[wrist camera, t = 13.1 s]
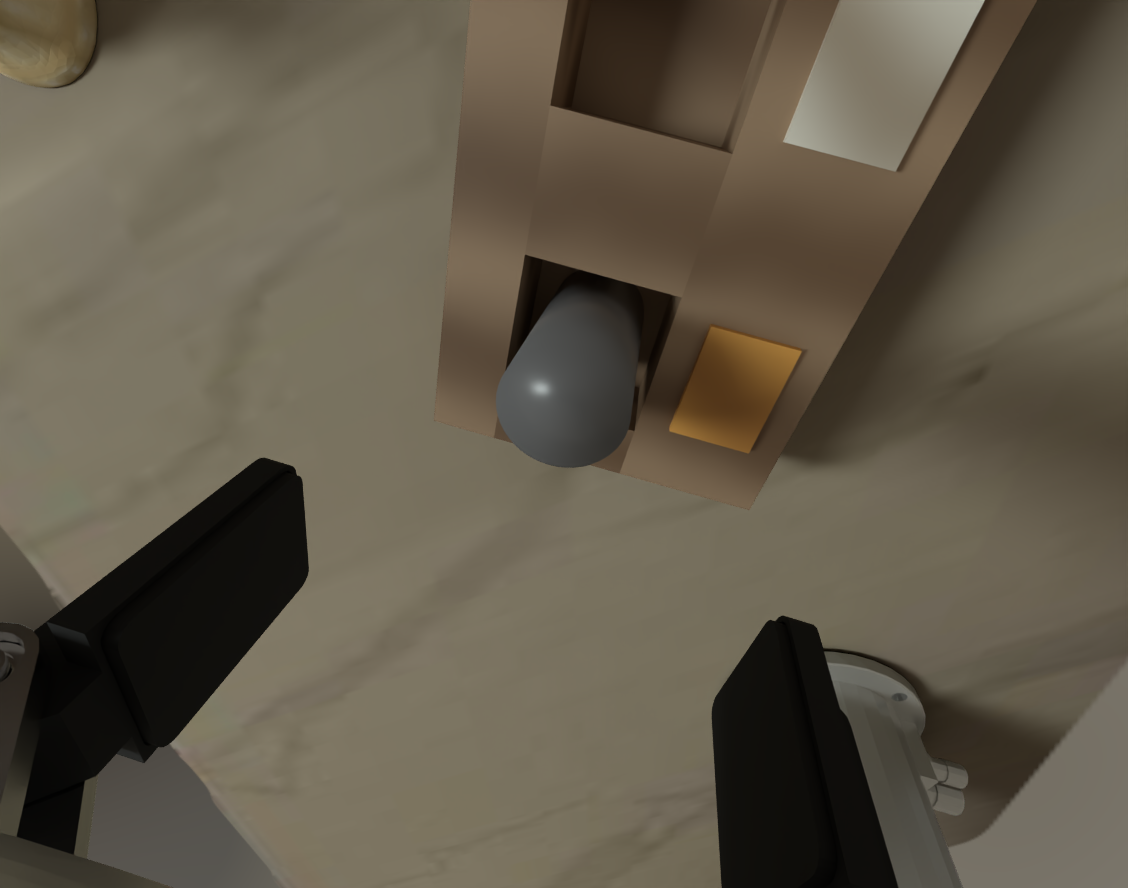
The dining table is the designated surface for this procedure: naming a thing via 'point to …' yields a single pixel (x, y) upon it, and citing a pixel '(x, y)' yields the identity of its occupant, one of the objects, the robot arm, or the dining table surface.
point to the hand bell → (46, 40)
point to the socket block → (700, 198)
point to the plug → (575, 373)
